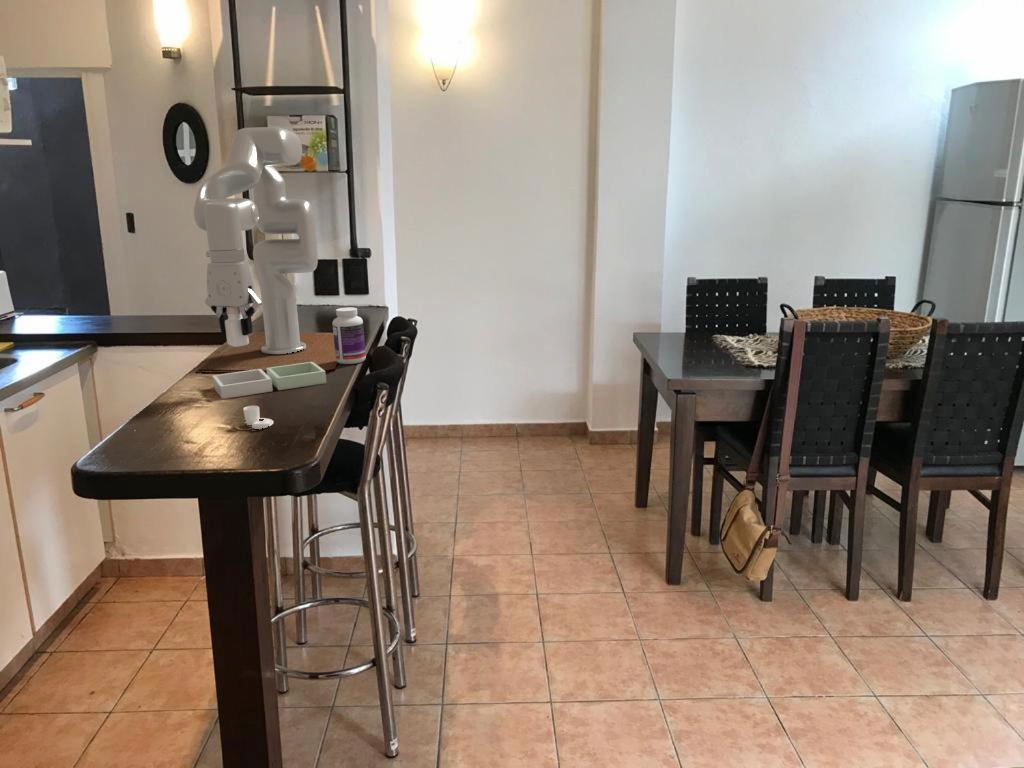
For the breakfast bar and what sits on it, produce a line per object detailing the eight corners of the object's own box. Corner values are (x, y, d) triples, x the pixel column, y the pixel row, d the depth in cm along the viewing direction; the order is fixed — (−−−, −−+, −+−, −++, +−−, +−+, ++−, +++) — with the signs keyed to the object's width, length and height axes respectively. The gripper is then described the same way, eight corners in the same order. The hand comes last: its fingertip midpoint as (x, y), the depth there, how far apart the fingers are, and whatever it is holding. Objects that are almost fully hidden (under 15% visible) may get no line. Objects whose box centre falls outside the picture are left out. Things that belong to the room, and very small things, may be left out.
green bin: (267, 379, 203) (266, 367, 202) (313, 372, 208) (312, 361, 207) (278, 390, 193) (277, 378, 192) (326, 383, 198) (325, 371, 198)
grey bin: (213, 387, 197) (212, 375, 196) (262, 380, 202) (260, 368, 201) (222, 398, 187) (220, 386, 186) (272, 391, 192) (271, 379, 192)
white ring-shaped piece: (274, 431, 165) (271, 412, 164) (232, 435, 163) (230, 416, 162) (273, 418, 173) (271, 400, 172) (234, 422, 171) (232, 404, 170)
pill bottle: (372, 359, 221) (368, 307, 217) (354, 366, 214) (350, 312, 210) (347, 357, 224) (343, 305, 220) (329, 363, 217) (325, 310, 213)
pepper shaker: (250, 344, 192) (245, 305, 190) (234, 348, 190) (229, 308, 187) (242, 342, 195) (237, 303, 192) (226, 345, 192) (221, 306, 190)
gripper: (185, 258, 185) (196, 335, 191) (250, 259, 181) (259, 339, 186) (205, 253, 192) (215, 328, 197) (268, 255, 187) (277, 331, 193)
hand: (237, 332), depth 192 cm, fingers closed on pepper shaker, 5 cm apart
